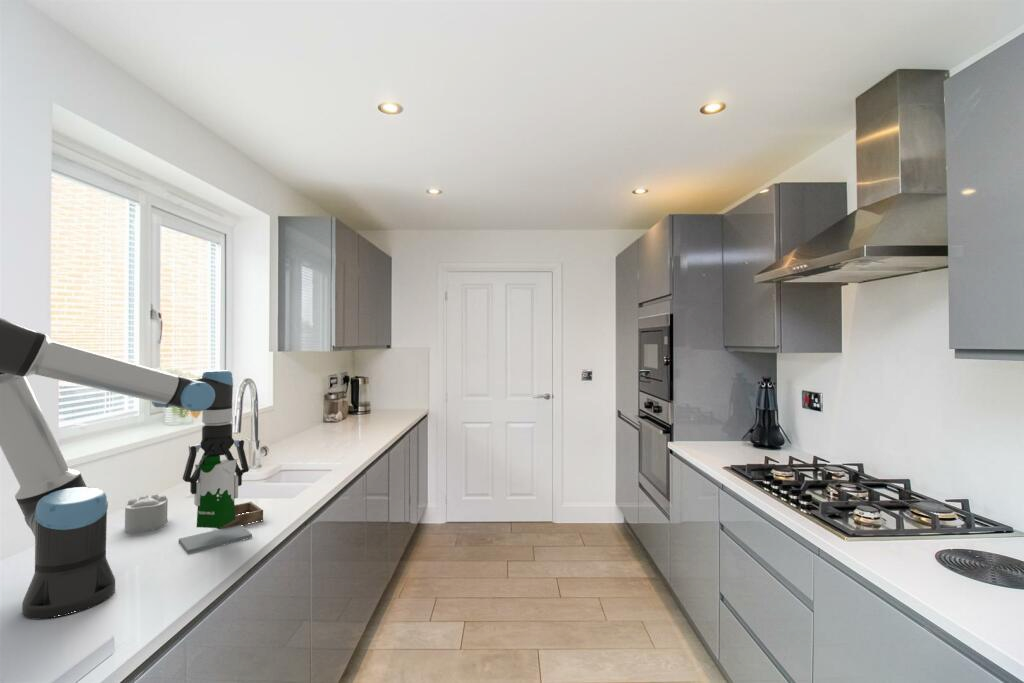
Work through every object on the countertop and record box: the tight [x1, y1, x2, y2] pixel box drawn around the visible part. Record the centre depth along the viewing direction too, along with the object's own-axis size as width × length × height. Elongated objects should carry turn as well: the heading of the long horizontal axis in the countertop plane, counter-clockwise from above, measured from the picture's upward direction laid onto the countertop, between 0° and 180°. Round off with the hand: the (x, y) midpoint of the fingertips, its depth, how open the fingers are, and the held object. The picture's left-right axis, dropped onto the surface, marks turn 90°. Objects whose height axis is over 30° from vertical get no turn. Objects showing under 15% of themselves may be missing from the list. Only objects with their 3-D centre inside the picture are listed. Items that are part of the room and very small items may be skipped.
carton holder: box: [217, 501, 264, 530], centre depth 156 cm, size 12×12×4 cm
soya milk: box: [194, 455, 239, 529], centre depth 141 cm, size 9×9×20 cm
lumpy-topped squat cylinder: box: [124, 493, 169, 533], centre depth 153 cm, size 10×13×9 cm
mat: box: [178, 525, 253, 555], centre depth 141 cm, size 16×11×1 cm
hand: (216, 500), depth 141 cm, fingers closed on soya milk, 9 cm apart
